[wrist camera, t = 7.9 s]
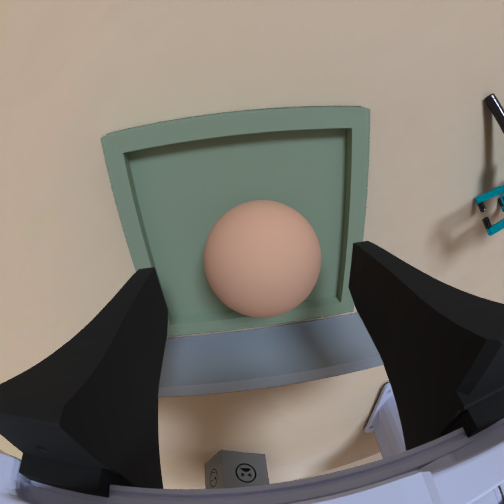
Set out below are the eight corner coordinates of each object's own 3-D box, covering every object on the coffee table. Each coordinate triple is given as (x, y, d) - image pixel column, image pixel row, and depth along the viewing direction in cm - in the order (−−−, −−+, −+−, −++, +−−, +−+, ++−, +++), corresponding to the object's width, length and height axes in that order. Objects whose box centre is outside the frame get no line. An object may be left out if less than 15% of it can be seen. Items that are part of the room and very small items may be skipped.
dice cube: (220, 449, 27) (224, 493, 23) (264, 453, 29) (270, 494, 24) (204, 464, 29) (206, 502, 25) (244, 467, 31) (249, 504, 27)
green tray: (347, 300, 18) (353, 311, 17) (161, 324, 17) (159, 336, 16) (359, 106, 12) (369, 109, 11) (108, 133, 11) (100, 137, 11)
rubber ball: (295, 263, 16) (337, 323, 12) (205, 284, 15) (225, 354, 11) (293, 177, 13) (347, 219, 10) (188, 195, 12) (203, 249, 9)
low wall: (368, 321, 19) (389, 363, 16) (145, 351, 18) (138, 397, 15) (370, 310, 18) (393, 351, 15) (140, 340, 18) (131, 387, 15)
